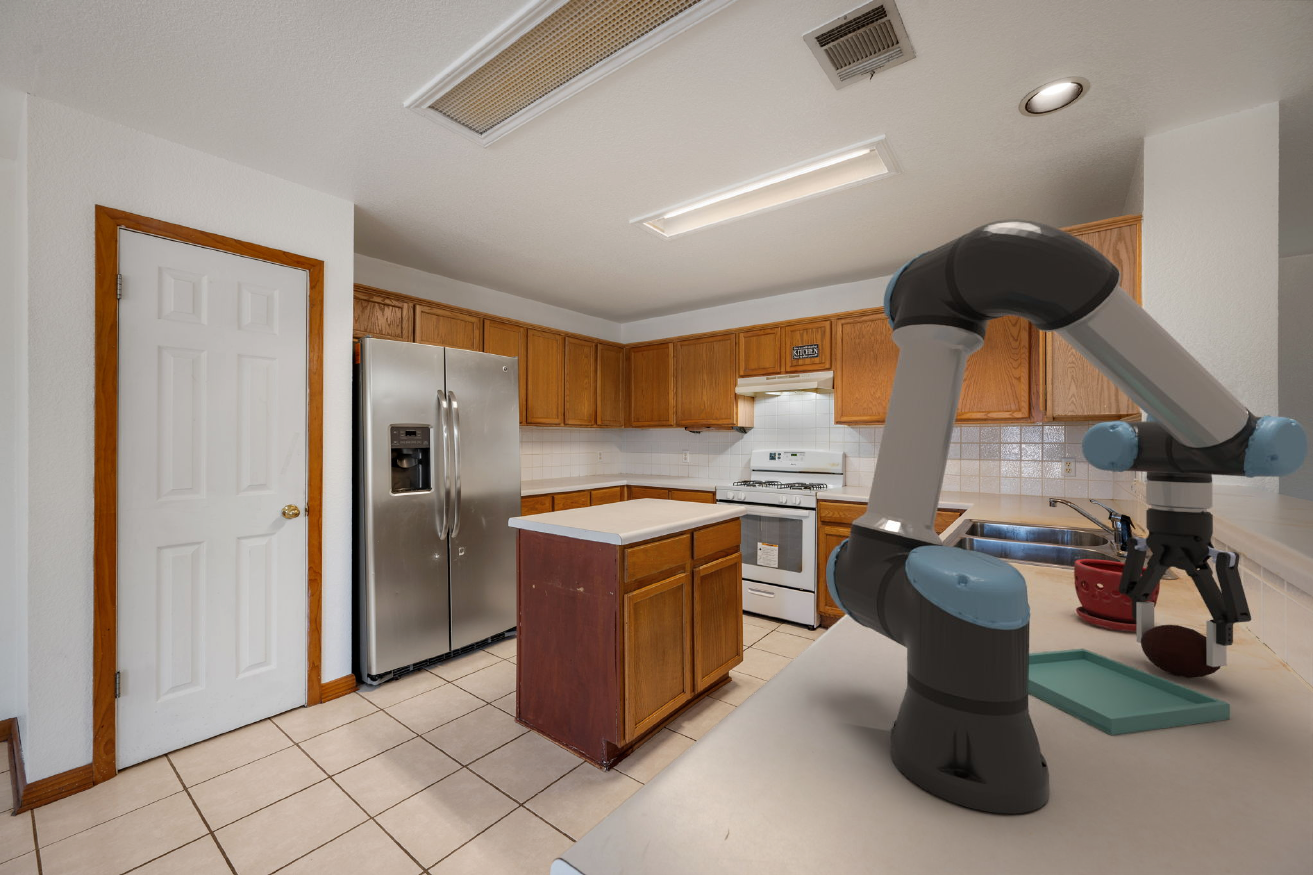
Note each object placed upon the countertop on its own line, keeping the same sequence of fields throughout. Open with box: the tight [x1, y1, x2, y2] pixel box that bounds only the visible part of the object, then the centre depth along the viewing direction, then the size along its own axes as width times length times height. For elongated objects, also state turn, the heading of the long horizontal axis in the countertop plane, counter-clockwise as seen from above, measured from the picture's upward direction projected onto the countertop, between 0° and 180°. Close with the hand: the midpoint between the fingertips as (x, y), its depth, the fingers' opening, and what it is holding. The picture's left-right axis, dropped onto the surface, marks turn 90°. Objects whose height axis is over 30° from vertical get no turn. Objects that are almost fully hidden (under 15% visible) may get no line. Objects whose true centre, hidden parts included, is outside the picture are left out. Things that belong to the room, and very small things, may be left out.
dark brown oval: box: [1140, 624, 1222, 679], centre depth 84 cm, size 8×9×8 cm
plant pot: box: [1073, 558, 1161, 633], centre depth 108 cm, size 13×13×12 cm
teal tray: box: [1028, 648, 1231, 736], centre depth 78 cm, size 20×20×2 cm
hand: (1179, 652), depth 84 cm, fingers closed on dark brown oval, 9 cm apart
